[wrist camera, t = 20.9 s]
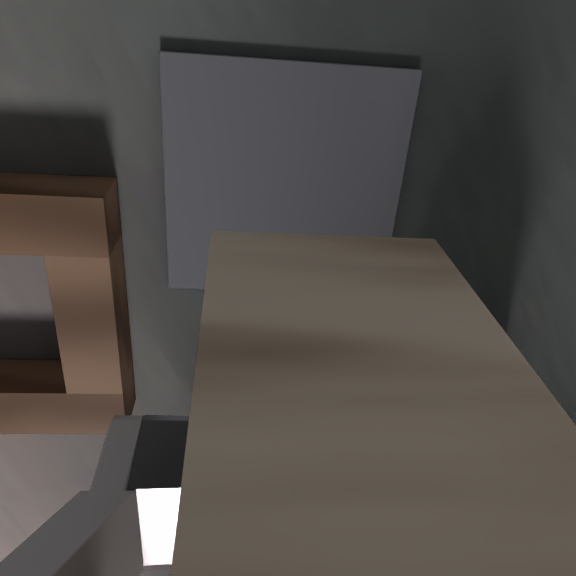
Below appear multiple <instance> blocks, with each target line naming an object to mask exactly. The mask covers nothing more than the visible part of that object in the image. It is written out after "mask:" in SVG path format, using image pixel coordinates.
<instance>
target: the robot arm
mask: <svg viewBox="0 0 576 576" xmlns="http://www.w3.org/2000/svg"><path fill="white" fill-rule="evenodd" d="M188 423H189V416H161V415H145V416H134V415H115V416H114V417H113V419H112V420H111V422H110V425H109V429H108V432H107V435H106V439H105V442H104V445H103V448H102V452H101V455H100V458H99V462H98V465H97V468H96V472H95V475H94V478H93V482H92V485H91V488H90V491H80V492H79V493H78V494H77V495H76V496H74V497H73V498H72V499H71V500H70V501H69V502H68V503H67V504H65V505H64V506H63V507H62V508H61V509H60V510H59V511H58V512H56V513H55V514H54V515H53V516H52V517H51V518H50V519H49V520H47V521H46V522H45V523H44V524H43V525H42V526H41V527H40V528H39V529H37V530H36V531H35V532H34V533H33V534H32V535H31V536H30V537H28V538H27V539H26V540H25V541H24V542H23V543H22V544H21V545H19V546H18V547H17V548H16V549H15V550H14V551H13V552H12V553H10V554H9V555H8V556H7V557H6V558H5V559H4V560H3V561H1V562H0V576H138V575H139V574H140V572H141V571H142V570H143V566H144V565H162V564H172V557H173V549H174V541H175V532H176V524H177V515H178V507H179V499H180V490H181V482H182V474H183V465H184V457H185V448H186V440H187V432H188Z"/></svg>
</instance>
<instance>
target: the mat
mask: <svg viewBox="0 0 576 576" xmlns="http://www.w3.org/2000/svg"><path fill="white" fill-rule="evenodd" d="M159 58H160V83H161V108H162V133H163V158H164V183H165V208H166V233H167V257H168V282H169V288H180V289H205V281H206V273H207V264H208V256H209V248H210V239H211V231H212V230H218V231H244V232H270V233H296V234H321V235H347V236H373V237H392V234H393V228H394V223H395V217H396V212H397V207H398V201H399V196H400V190H401V185H402V180H403V174H404V169H405V163H406V158H407V152H408V147H409V142H410V136H411V131H412V125H413V120H414V115H415V109H416V104H417V98H418V93H419V87H420V82H421V77H422V71H423V70H421V69H411V68H398V67H384V66H370V65H356V64H342V63H328V62H314V61H300V60H287V59H273V58H259V57H245V56H231V55H217V54H203V53H189V52H176V51H162V50H161V51H159Z"/></svg>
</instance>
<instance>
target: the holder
mask: <svg viewBox="0 0 576 576" xmlns="http://www.w3.org/2000/svg"><path fill="white" fill-rule="evenodd" d="M0 254H1V255H31V256H44V260H45V266H46V272H47V278H48V284H49V290H50V296H51V302H52V308H53V314H54V320H55V326H56V332H57V339H58V345H59V351H60V357H61V360H24V359H0V434H107V432H108V429H109V425H110V422H111V420H112V419H113V417H114V416H115V415H132V411H133V407H134V404H135V400H136V398H135V386H134V374H133V362H132V351H131V339H130V327H129V315H128V303H127V292H126V280H125V268H124V256H123V245H122V233H121V221H120V209H119V197H118V186H117V178H115V177H94V176H74V175H53V174H32V173H11V172H0Z"/></svg>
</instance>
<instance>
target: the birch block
mask: <svg viewBox="0 0 576 576" xmlns="http://www.w3.org/2000/svg"><path fill="white" fill-rule="evenodd" d="M170 576H576V425H575V424H574V422H573V421H572V420H571V418H570V417H569V416H568V414H567V413H566V412H565V411H564V409H563V408H562V407H561V405H560V404H559V403H558V401H557V400H556V399H555V397H554V396H553V395H552V393H551V392H550V391H549V389H548V388H547V387H546V385H545V384H544V383H543V381H542V380H541V379H540V377H539V376H538V375H537V373H536V372H535V371H534V370H533V368H532V367H531V366H530V364H529V363H528V362H527V360H526V359H525V358H524V356H523V355H522V354H521V352H520V351H519V350H518V348H517V347H516V346H515V344H514V343H513V342H512V340H511V339H510V338H509V336H508V335H507V334H506V332H505V331H504V330H503V328H502V327H501V326H500V325H499V323H498V322H497V321H496V319H495V318H494V317H493V315H492V314H491V313H490V311H489V310H488V309H487V307H486V306H485V305H484V303H483V302H482V301H481V299H480V298H479V297H478V295H477V294H476V293H475V291H474V290H473V289H472V287H471V286H470V285H469V284H468V282H467V281H466V280H465V278H464V277H463V276H462V274H461V273H460V272H459V270H458V269H457V268H456V266H455V265H454V264H453V262H452V261H451V260H450V258H449V257H448V256H447V254H446V253H445V252H444V250H443V249H442V248H441V246H440V245H439V244H438V243H437V241H436V240H435V239H425V238H399V237H373V236H347V235H321V234H296V233H270V232H244V231H218V230H212V231H211V239H210V248H209V256H208V264H207V273H206V281H205V289H204V298H203V306H202V315H201V323H200V331H199V340H198V348H197V356H196V365H195V373H194V382H193V390H192V398H191V407H190V415H189V423H188V432H187V440H186V448H185V457H184V465H183V474H182V482H181V490H180V499H179V507H178V515H177V524H176V532H175V541H174V549H173V557H172V566H171V574H170Z"/></svg>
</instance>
